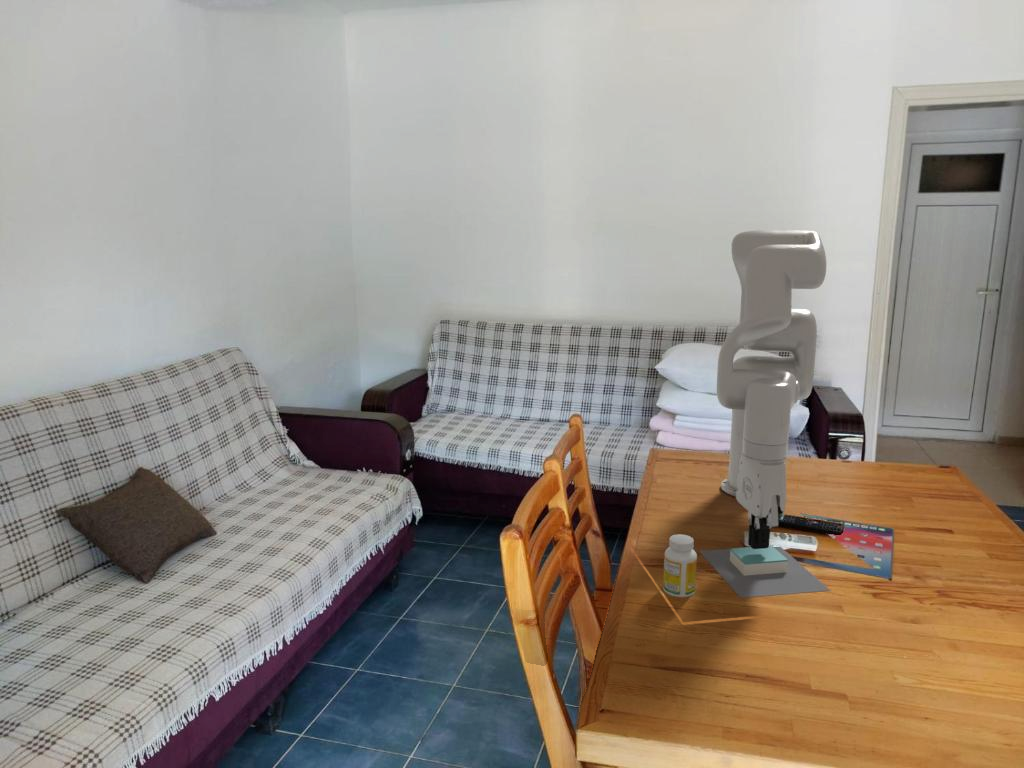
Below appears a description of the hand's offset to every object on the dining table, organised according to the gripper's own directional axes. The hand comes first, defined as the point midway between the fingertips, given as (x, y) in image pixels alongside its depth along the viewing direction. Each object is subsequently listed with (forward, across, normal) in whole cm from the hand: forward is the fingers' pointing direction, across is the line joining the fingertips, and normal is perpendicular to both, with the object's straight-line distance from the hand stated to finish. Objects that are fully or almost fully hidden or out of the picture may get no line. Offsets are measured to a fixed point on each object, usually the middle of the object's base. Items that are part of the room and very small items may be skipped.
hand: (758, 546), depth 135 cm
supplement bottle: (+4, +6, -17) cm, 19 cm away
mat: (+4, +2, 0) cm, 4 cm away
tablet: (+5, -7, +20) cm, 22 cm away
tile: (+3, -3, 0) cm, 4 cm away
